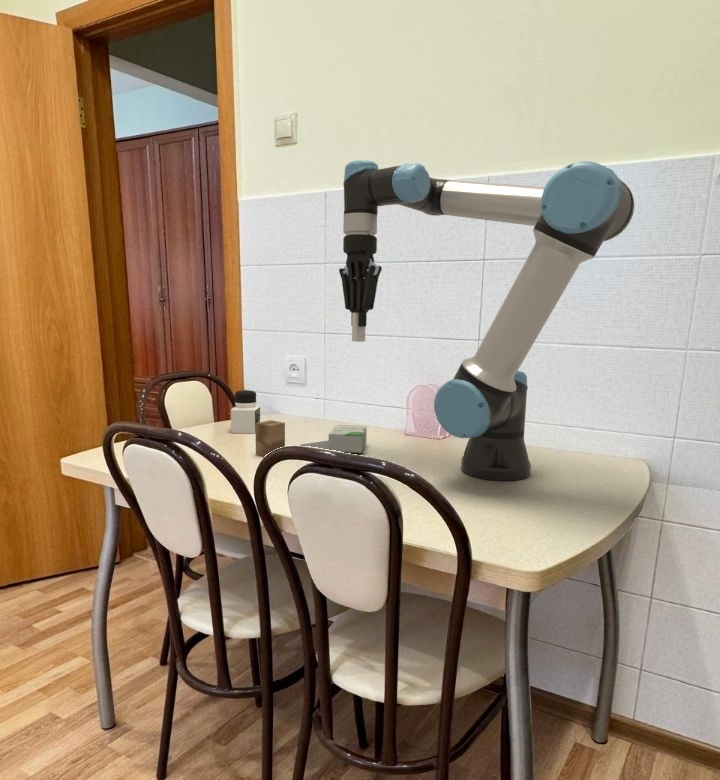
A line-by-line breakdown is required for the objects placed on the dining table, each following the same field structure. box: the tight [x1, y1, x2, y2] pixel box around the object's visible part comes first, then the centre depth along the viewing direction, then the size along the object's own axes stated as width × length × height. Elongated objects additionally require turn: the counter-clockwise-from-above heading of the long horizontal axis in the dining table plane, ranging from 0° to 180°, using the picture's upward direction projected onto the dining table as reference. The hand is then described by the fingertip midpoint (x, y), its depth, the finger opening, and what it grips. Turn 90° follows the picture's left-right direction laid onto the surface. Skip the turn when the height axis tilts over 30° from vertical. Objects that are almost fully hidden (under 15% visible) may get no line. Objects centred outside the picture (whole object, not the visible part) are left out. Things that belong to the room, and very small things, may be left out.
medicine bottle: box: [230, 389, 261, 435], centre depth 164 cm, size 7×7×12 cm
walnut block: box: [255, 419, 286, 458], centre depth 137 cm, size 5×5×8 cm
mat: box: [300, 439, 329, 449], centre depth 143 cm, size 12×18×1 cm
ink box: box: [328, 424, 368, 454], centre depth 144 cm, size 9×5×12 cm
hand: (358, 341), depth 128 cm, fingers closed
